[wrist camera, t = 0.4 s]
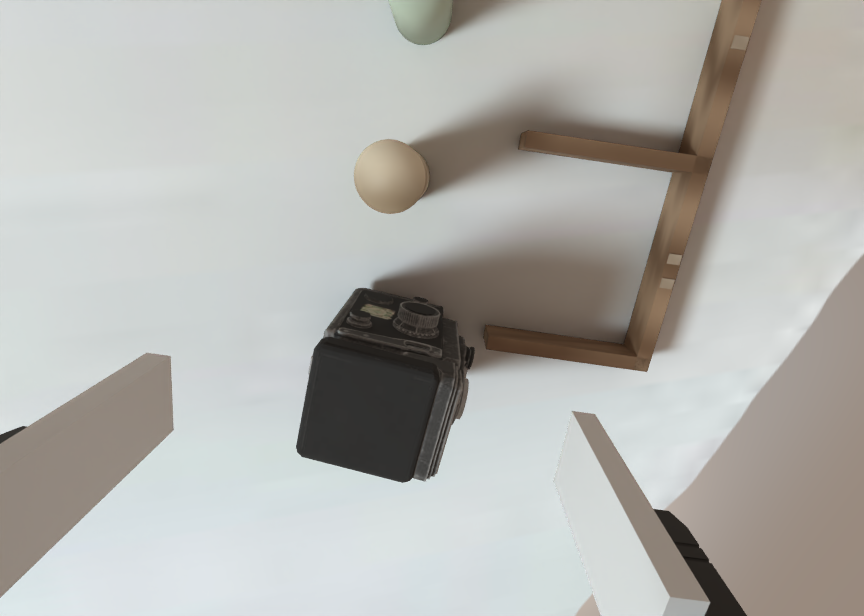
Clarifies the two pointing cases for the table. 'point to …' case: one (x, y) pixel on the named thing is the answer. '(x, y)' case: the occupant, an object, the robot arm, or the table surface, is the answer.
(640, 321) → the rack
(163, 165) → the table surface
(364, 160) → the beech post
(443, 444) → the camera
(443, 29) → the sage post
